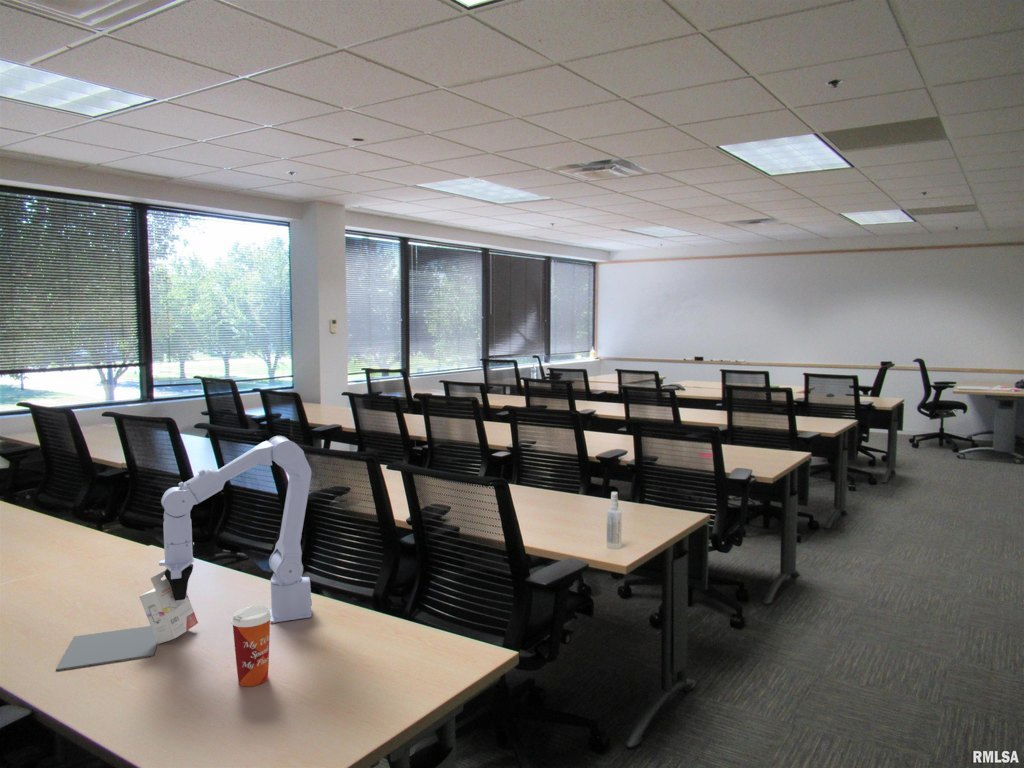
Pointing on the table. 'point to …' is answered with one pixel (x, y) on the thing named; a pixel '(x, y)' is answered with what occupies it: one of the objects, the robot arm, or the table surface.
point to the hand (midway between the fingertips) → (180, 598)
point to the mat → (109, 647)
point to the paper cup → (252, 644)
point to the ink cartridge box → (167, 611)
